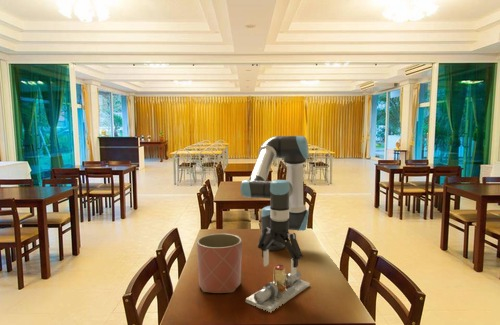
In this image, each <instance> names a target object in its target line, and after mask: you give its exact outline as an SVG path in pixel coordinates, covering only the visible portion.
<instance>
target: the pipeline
mask: <svg viewBox="0 0 500 325" xmlns="http://www.w3.org/2000/svg"><path fill="white" fill-rule="evenodd" d="M301 277H302V274H301V271H300V270H298V269H296V274H295V275H293V276H291V272H290V273H285V291H284V292H281V293H280V292H278V288H277V286H276V285H275V284H274V283H273V281H270V282H267V283H265V285H264V286H262V289H260V290H258V291H256V292H255V293H252V294H251V295H250V296H248V297H246V298H245V303H247V304H249V305H252V306H254V307H255V306H256V307H255V308H258V309H260V310H262V309H263V310H262V311H265V310H266V311H265V312H267V311H268V313H269V312H270V314H271V313H273V312H274V311H275V309H276V308H277V309H279V308H280V307H281V306H282V304H283V305H284V304H285V303H287V302H288V301H290V300H292V299H293V298H295V296H297V295H298V294H300V293H301V292H302V291H303V292H304V291H305V290H306V289H307V288H309V287H310V282H309V281H306V280H303V279H301ZM279 306H280V307H279ZM277 309H276V310H277ZM272 311H273V312H272Z"/></svg>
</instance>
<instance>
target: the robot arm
mask: <svg viewBox="0 0 500 325" xmlns="http://www.w3.org/2000/svg"><path fill="white" fill-rule="evenodd" d="M309 150H310V149H309V145H308V140H307V138H306V137H305V136H303V135H302V136H301V135H275V136H273V137H270V138H268V139H267V140H265V141H264V142H263V143H262V144H261V145H260V147H259V149H258V152H257V154H258V156H257V159H256V161H255V164H254V167H253V169H252V172H251V173H250V176H249V179H244V180H242V181H241V183H240V194H241V196H242V197H243V198H251V199H254V198H255V199H270V203H269V204H270V205H267V206H264V207H263V208H262V209H261V215H260V217H261V228H260V229H261V233H260V237H259V238H258V242H257V244H258V246H257V247H258V249H260V250H261V252H262V253H261V257H262V259H263V260H262V261H263V264H262V265H263V267H267V266H269V265H270V256H269V255H270V253H269V252H270V251H279V250H282V249H284V248H286V250H287V251H288V253H289V255H290V256H291V259H290V273H291V276H293V275H295V274H296V270H297V268H298V266H299V260H300V259H302V258H303V257H304V256H303V253H302V250H301V248H300V245H299V243H298V240H297V235H296V233H295V232H293V233H290V232H289V231H297V232H298V231H301V232H303V231H306V230H307V227H308V219H309V215H310V214H309V213H310V210H309V209H307V206H306V205H305V204H304V164H305V163H306V162H307V159H309V158H310V157H309V156H310V153H309V152H310V151H309ZM275 159H283V163H284V164H285V165H286V179H274V180H267V179H268V176H269V174H270V171H271V167H272V165H273V161H275Z"/></svg>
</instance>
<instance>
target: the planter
mask: <svg viewBox="0 0 500 325" xmlns="http://www.w3.org/2000/svg"><path fill="white" fill-rule="evenodd" d="M242 244H243V240H242V238H241V237H240V236H239V235H236V234H232V233H211V234H207V235H203V236H201V237H199V238H198V239H197V241H196V250H197V251H196V252H197V254H196V255H197V267H198V268H197V269H198V285H199V288H201V291H202V292H203V293H213V294H226V293H233V292H235V291H236V290H237V289H238V287H240V285H241V281H242V250H243V245H242Z"/></svg>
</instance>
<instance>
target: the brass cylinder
mask: <svg viewBox="0 0 500 325" xmlns="http://www.w3.org/2000/svg"><path fill="white" fill-rule="evenodd" d="M272 274H273V276H272V277H273V278H272V280H273V281H272V282H273V283H274V284H275V285H276V286H277V288H278V292H280V293H281V292H284V291H285V274H286V268H285V266H284V265H282V264H276V265H275V266H273V273H272Z"/></svg>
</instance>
